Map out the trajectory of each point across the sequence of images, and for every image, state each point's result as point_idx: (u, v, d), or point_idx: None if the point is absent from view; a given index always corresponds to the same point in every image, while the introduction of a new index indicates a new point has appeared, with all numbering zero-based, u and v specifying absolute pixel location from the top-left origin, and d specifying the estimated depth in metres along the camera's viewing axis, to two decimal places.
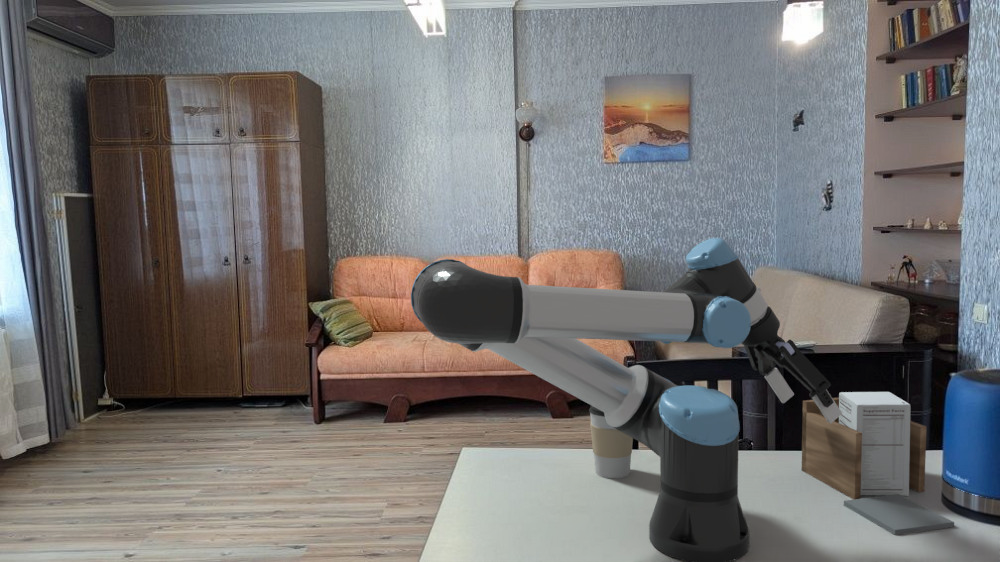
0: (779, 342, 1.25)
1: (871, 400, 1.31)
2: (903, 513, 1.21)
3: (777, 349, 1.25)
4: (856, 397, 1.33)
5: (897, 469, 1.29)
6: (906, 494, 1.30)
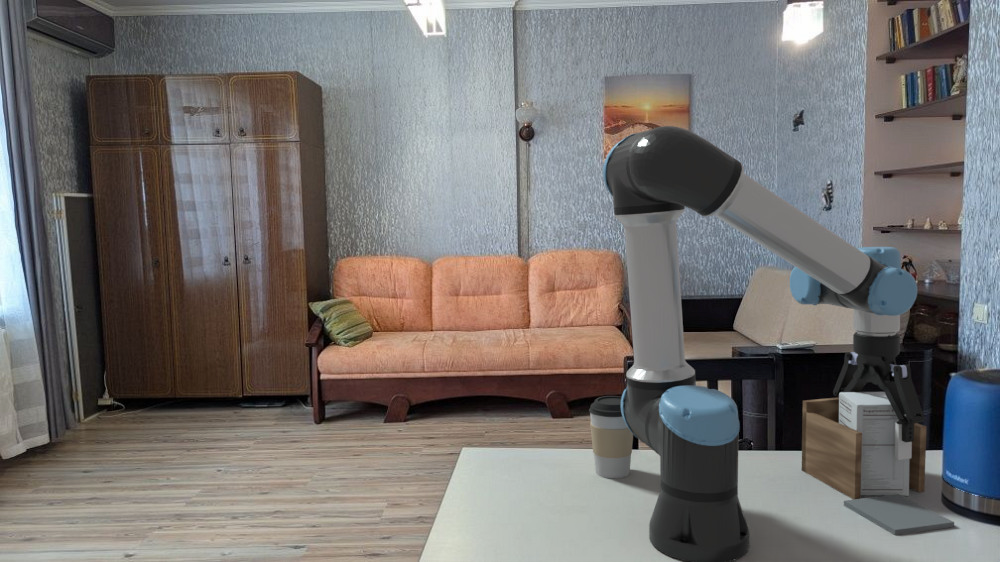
0: (893, 364, 1.28)
1: (871, 400, 1.31)
2: (903, 513, 1.21)
3: (889, 369, 1.28)
4: (856, 397, 1.33)
5: (897, 469, 1.29)
6: (906, 494, 1.30)
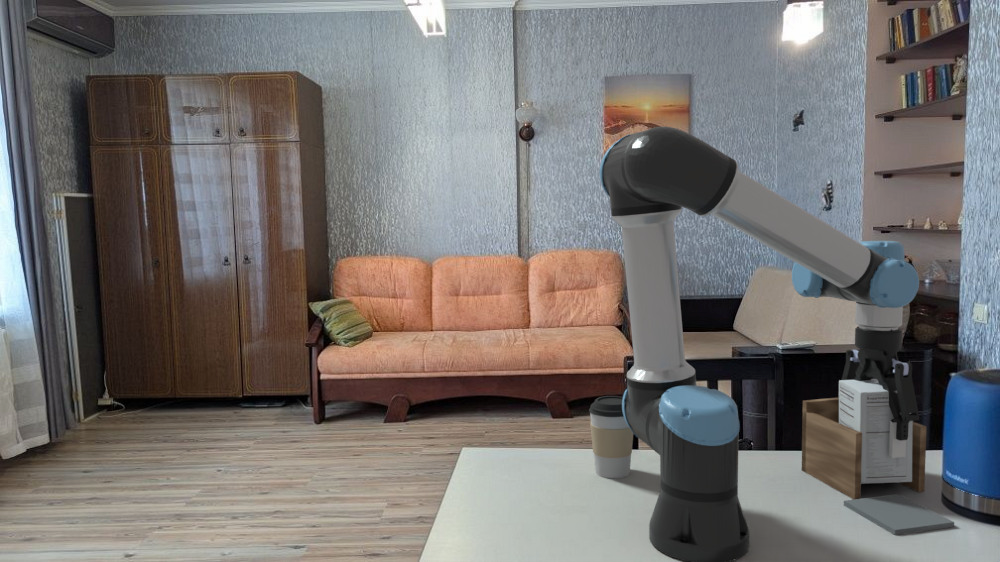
0: (895, 360, 1.27)
1: (873, 387, 1.30)
2: (903, 513, 1.21)
3: (890, 364, 1.27)
4: (857, 385, 1.32)
5: None
6: (909, 480, 1.29)
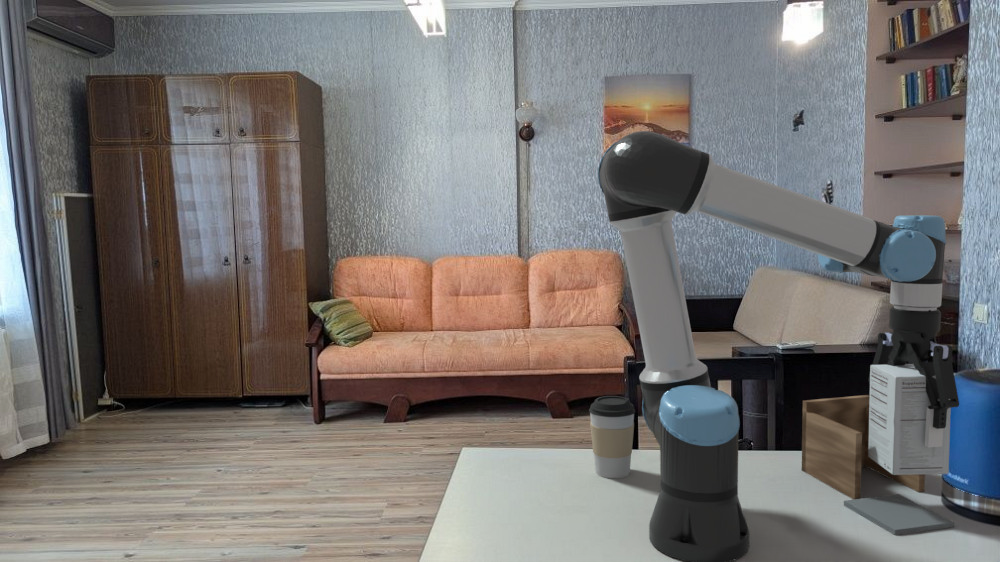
0: (934, 343, 1.19)
1: (909, 372, 1.22)
2: (903, 513, 1.21)
3: (928, 347, 1.19)
4: (891, 369, 1.24)
5: None
6: (946, 472, 1.20)
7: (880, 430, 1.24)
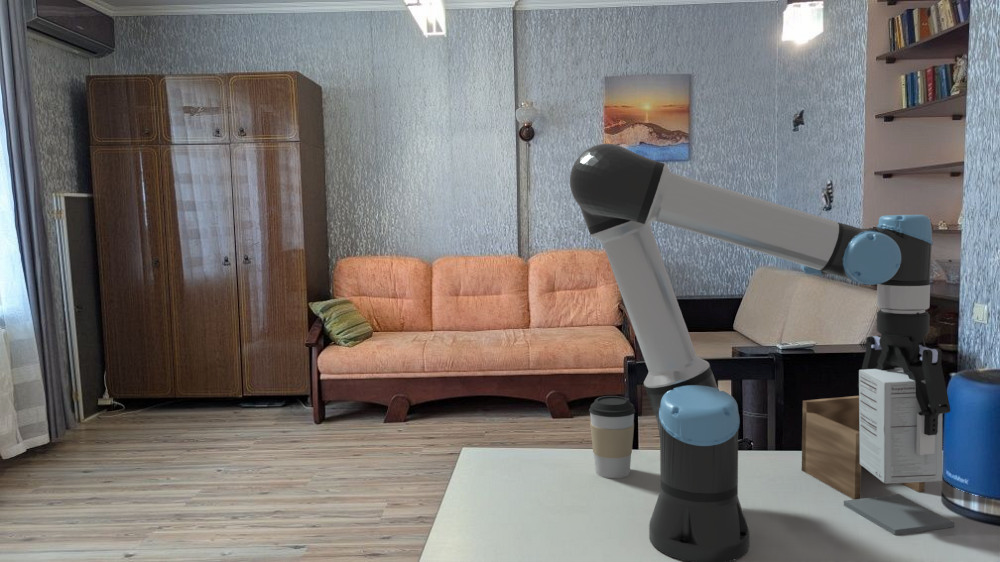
0: (923, 346, 1.15)
1: (898, 376, 1.18)
2: (903, 513, 1.21)
3: (917, 351, 1.15)
4: (880, 374, 1.20)
5: None
6: (939, 479, 1.16)
7: (870, 437, 1.20)
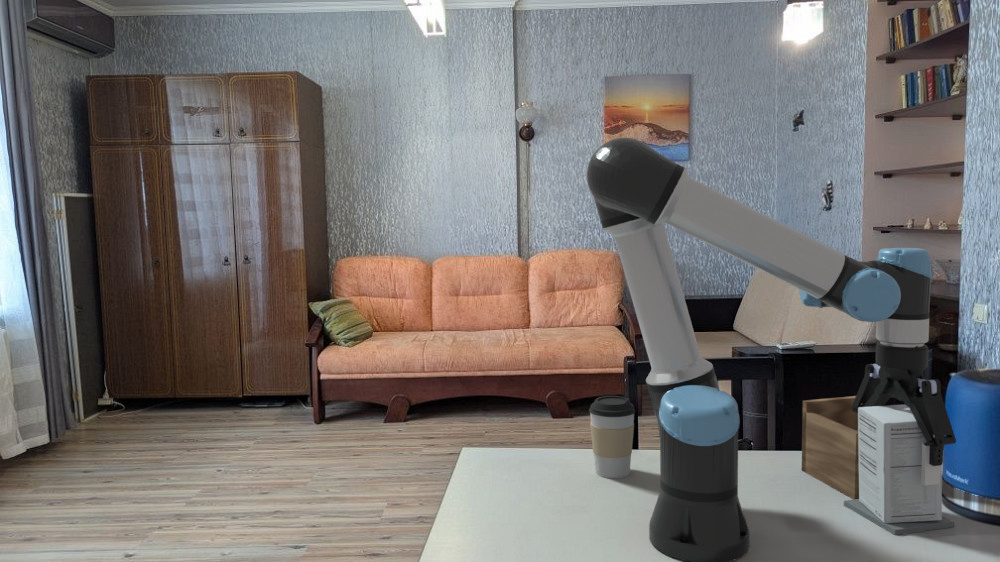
0: (921, 379, 1.15)
1: (897, 416, 1.18)
2: None
3: (916, 384, 1.15)
4: (879, 413, 1.20)
5: (929, 492, 1.16)
6: (939, 519, 1.17)
7: (870, 475, 1.21)
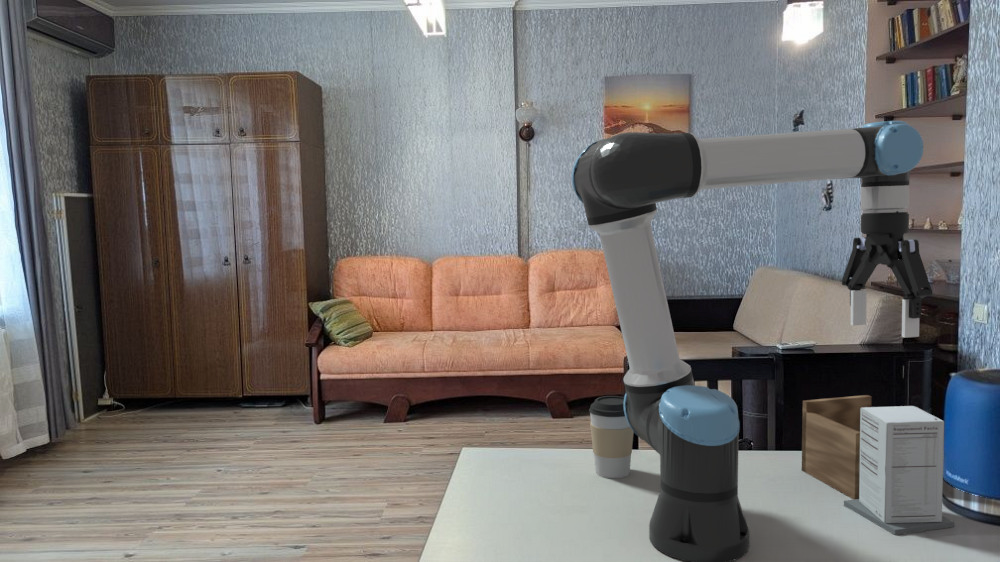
0: None
1: (900, 416, 1.18)
2: None
3: (896, 246, 1.25)
4: (882, 413, 1.20)
5: (930, 493, 1.16)
6: (939, 520, 1.17)
7: (871, 475, 1.21)
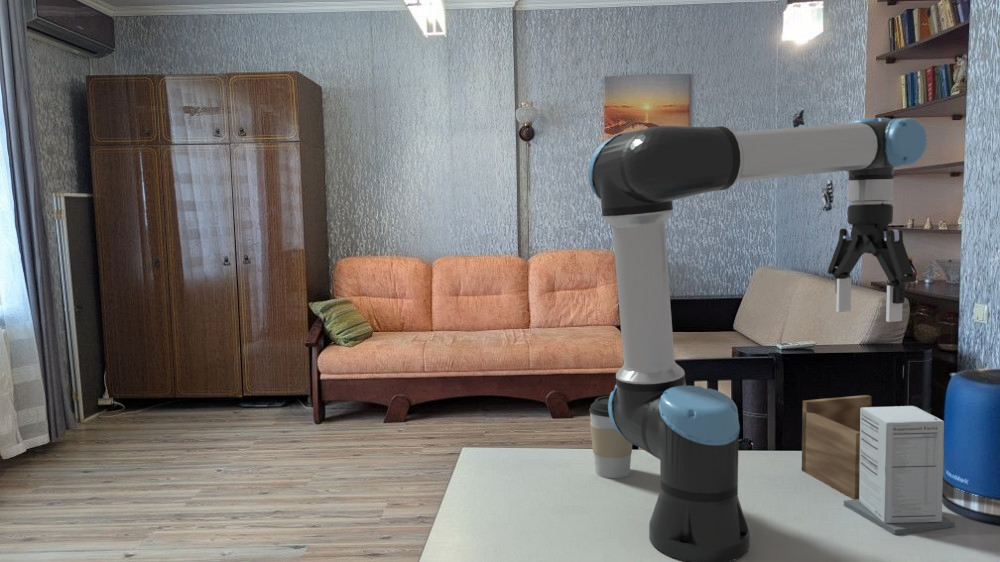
0: None
1: (900, 416, 1.18)
2: None
3: (881, 235, 1.32)
4: (882, 413, 1.20)
5: (930, 493, 1.16)
6: (939, 520, 1.17)
7: (871, 475, 1.21)
